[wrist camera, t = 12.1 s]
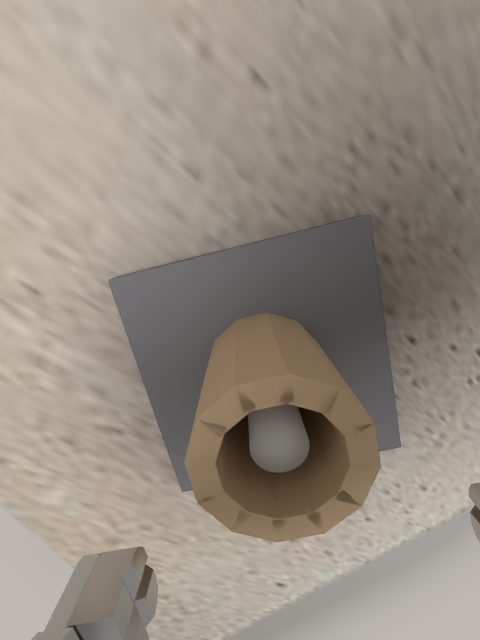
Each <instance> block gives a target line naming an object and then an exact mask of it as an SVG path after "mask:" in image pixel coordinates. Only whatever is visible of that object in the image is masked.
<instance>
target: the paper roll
mask: <svg viewBox="0 0 480 640" xmlns="http://www.w3.org/2000/svg"><path fill="white" fill-rule="evenodd" d="M283 404H290V405H294V406H298V409H299V412H300V415H301V418H302V421H303V424H304V427H305V430H306V433H307V436H308V439H309V444H310V448H309V453H308V455H307V457H306V459H305V460H304V462H303V463H302V464H301V465H300V466H298V467H297V468H295V469H293V470H290V471H287V472H281V473H276V472H270V471H267V470H265V469H263V468H261V467H260V466H258V465H257V464H256V463H255V462H254V460H253V459H252V457H251V454H250V446H249V425H248V413H250V412H251V411H255V410H260V409H264V408H269V407H274V406H278V405H283ZM184 464H185V467H186V470H187V473H188V476H189V479H190V482H191V484H192V487H193V490H194V493H195V496H196V499H197V502H198V504H199V505H200V506H202V507H203V508H204V509H205V510H206V511H208V512H209V513H210V514H211V515H212V516H214V517H215V518H216V519H217V520H219V521H220V522H221V523H222V524H223V525H225V526H226V527H227V528H228V529H229V530H231V531H232V532H235V533H240V534H244V535H248V536H253V537H257V538H261V539H266V540H270V541H274V542H282V541H287V540H292V539H297V538H302V537H308V536H313V535H318V534H323V533H325V532H327V531H328V530H330V529H331V528H332V527H334V526H335V525H337V524H338V523H339V522H341V521H342V520H344V519H345V518H346V517H348V516H349V515H351V514H352V513H353V512H355V511H356V510H358V509H359V508H360V507H362V505H363V503H364V501H365V499H366V497H367V495H368V493H369V491H370V488H371V486H372V484H373V482H374V480H375V478H376V476H377V474H378V472H379V470H380V467H381V463H380V456H379V450H378V443H377V437H376V430H375V424H374V422H373V420H372V419H371V417H370V416H369V415H368V413H367V412H366V410H365V409H364V407H363V406H362V405H361V403H360V402H359V400H358V399H357V398H356V396H355V395H354V393H353V392H352V391H351V389H350V388H349V386H348V385H347V383H346V382H345V381H344V379H343V378H342V376H341V375H340V374H339V372H338V371H337V369H336V368H335V366H334V365H333V364H332V362H331V361H330V359H329V358H328V357H327V355H326V354H325V352H324V351H323V350H322V348H321V347H320V345H319V344H318V342H317V341H316V340H315V339H314V338H313V337H312V336H311V335H310V334H309V333H308V332H307V331H306V330H305V329H304V327H303V326H302V325H301V324H300V323H299V322H298V321H296V320H293V319H289V318H286V317H282V316H279V315H275V314H272V313H263V314H258V315H254V316H250V317H245V318H241V319H237V320H236V321H235V322H234V323H233V324H232V325H231V326H229V327H228V328H227V329H226V330H225V331H224V332H223V333H222V334H221V335H220V336H219V337H218V338H216V339H215V341H214V345H213V348H212V352H211V355H210V359H209V362H208V366H207V369H206V374H205V378H204V382H203V386H202V390H201V394H200V399H199V403H198V407H197V411H196V415H195V420H194V424H193V428H192V432H191V436H190V440H189V445H188V449H187V453H186V457H185V461H184Z"/></svg>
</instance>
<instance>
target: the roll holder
mask: <svg viewBox="0 0 480 640" xmlns="http://www.w3.org/2000/svg"><path fill="white" fill-rule="evenodd" d="M108 282H109V285H110V288H111V291H112V293H113V296H114V299H115V302H116V305H117V308H118V310H119V313H120V316H121V319H122V322H123V325H124V328H125V330H126V333H127V336H128V339H129V342H130V345H131V348H132V350H133V353H134V356H135V359H136V362H137V365H138V368H139V370H140V373H141V376H142V379H143V382H144V385H145V387H146V390H147V393H148V396H149V399H150V402H151V405H152V407H153V410H154V413H155V416H156V419H157V422H158V425H159V427H160V430H161V433H162V436H163V439H164V442H165V445H166V447H167V450H168V453H169V456H170V459H171V462H172V464H173V467H174V470H175V473H176V476H177V479H178V482H179V484H180V487H181V490H182V492H185V491H190V490H193V487H192V484H191V482H190V479H189V476H188V473H187V470H186V467H185V464H184V461H185V457H186V453H187V449H188V445H189V440H190V436H191V432H192V428H193V424H194V420H195V415H196V411H197V407H198V403H199V399H200V394H201V390H202V386H203V382H204V378H205V374H206V369H207V366H208V362H209V359H210V355H211V352H212V348H213V345H214V341H215V339H216V338H218V337H219V336H220V335H221V334H222V333H223V332H224V331H225V330H226V329H227V328H228V327H229V326H231V325H232V324H233V323H234V322H235V321H236V320H237V319H241V318H245V317H250V316H254V315H258V314H263V313H272V314H275V315H279V316H282V317H286V318H289V319H293V320H296V321H298V322H299V323H300V324H301V325H302V326H303V327H304V329H305V330H306V331H307V332H308V333H309V334H310V335H311V336H312V337H313V338H314V339H315V340H316V341H317V342H318V344H319V345H320V347H321V348H322V350H323V351H324V352H325V354H326V355H327V357H328V358H329V359H330V361H331V362H332V364H333V365H334V366H335V368H336V369H337V371H338V372H339V374H340V375H341V376H342V378H343V379H344V381H345V382H346V383H347V385H348V386H349V388H350V389H351V391H352V392H353V393H354V395H355V396H356V398H357V399H358V400H359V402H360V403H361V405H362V406H363V407H364V409H365V410H366V412H367V413H368V415H369V416H370V417H371V419H372V420H373V422H374V424H375V430H376V437H377V443H378V450H379V451H384V450H389V449H394V448H398V447H401V442H400V435H399V427H398V420H397V412H396V405H395V397H394V390H393V383H392V375H391V368H390V360H389V353H388V345H387V338H386V330H385V323H384V316H383V308H382V301H381V293H380V286H379V278H378V271H377V263H376V256H375V249H374V241H373V234H372V226H371V219H370V215H363V216H357V217H353V218H349V219H345V220H341V221H337V222H333V223H329V224H326V225H322V226H318V227H314V228H310V229H306V230H302V231H298V232H294V233H290V234H286V235H282V236H278V237H274V238H270V239H266V240H262V241H258V242H254V243H250V244H246V245H242V246H238V247H234V248H230V249H226V250H222V251H218V252H214V253H210V254H206V255H202V256H198V257H194V258H190V259H186V260H182V261H178V262H174V263H170V264H166V265H162V266H158V267H154V268H150V269H146V270H142V271H138V272H134V273H130V274H126V275H122V276H118V277H115V278H113V279H110V280H108ZM248 425H249V446H250V454H251V457H252V459H253V460H254V462H255V463H256V464H257V465H258V466H260V467H261V468H263V469H265V470H267V471H270V472H276V473H281V472H287V471H290V470H293V469H295V468H297V467H298V466H300V465H301V464H302V463H303V462H304V460H305V459H306V457H307V455H308V453H309V448H310V444H309V439H308V436H307V433H306V430H305V427H304V424H303V421H302V418H301V415H300V412H299V409H298V406H294V405H290V404H283V405H278V406H274V407H269V408H264V409H260V410H255V411H251V412H250V413H248Z"/></svg>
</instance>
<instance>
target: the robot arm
mask: <svg viewBox="0 0 480 640" xmlns="http://www.w3.org/2000/svg"><path fill="white" fill-rule="evenodd" d="M469 497H470V499H471V500H472V501H473V502H474V504H475V506H474V508H473V509H472V511H471V512H470V514H471V523H472V526H473V529H474V531H475V534H476V536H477V538H478V540H479V542H480V483H475V484H471V486H470V488H469ZM147 557H148V556H147V554H146V552H145V550H144V548H143V547H134V548H128V549H121V550H115V551H108V552H102V553H97V554H91V555H85V556H83V557H82V558H81V559H80V560H79V562H78V563H77V565H76V567H75V569H74V571H73V573H72V575H71V577H70V580H69V582H68V584H67V586H66V588H65V590H64V592H63V594H62V596H61V598H60V600H59V602H58V604H57V606H56V608H55V610H54V612H53V614H52V616H51V618H50V620H49V622H48V624H47V626H46V628H45V631H44V632H39V633H37V634H36V635H35V636H34V637H33V638H32V640H149V636H148V633H147V630H146V627H147V625H148V624H149V622H150V621H151V620H152V618H153V617H154V615H155V610H156V606H157V597H158V585H157V579H156V575H155V573H154V570H153V569H152V568H150V567H149V566H147V565H146V560H147Z"/></svg>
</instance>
